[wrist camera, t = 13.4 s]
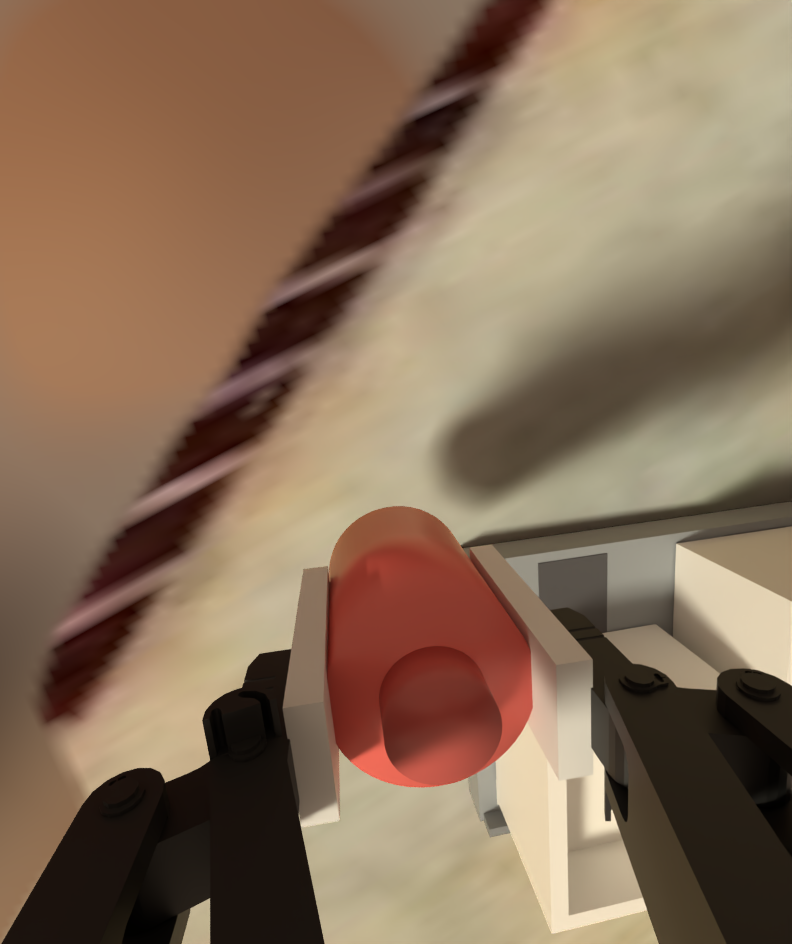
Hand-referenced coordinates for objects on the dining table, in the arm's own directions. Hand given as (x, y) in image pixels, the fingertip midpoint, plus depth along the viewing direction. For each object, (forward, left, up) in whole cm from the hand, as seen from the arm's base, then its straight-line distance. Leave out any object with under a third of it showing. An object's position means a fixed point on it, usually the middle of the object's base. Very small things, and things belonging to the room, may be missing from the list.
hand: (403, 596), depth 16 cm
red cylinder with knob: (0, 0, -2) cm, 2 cm away
